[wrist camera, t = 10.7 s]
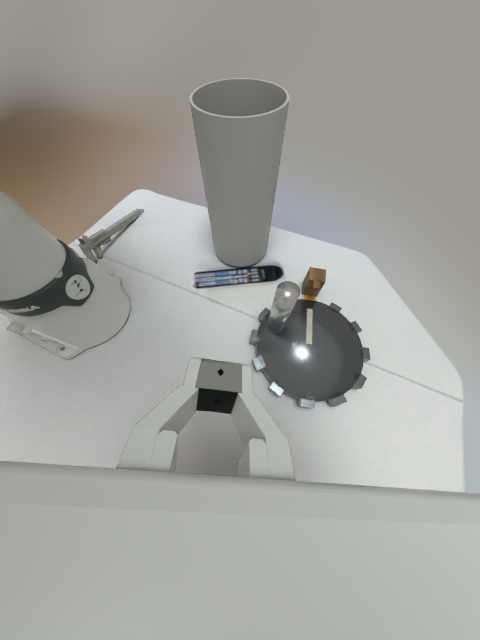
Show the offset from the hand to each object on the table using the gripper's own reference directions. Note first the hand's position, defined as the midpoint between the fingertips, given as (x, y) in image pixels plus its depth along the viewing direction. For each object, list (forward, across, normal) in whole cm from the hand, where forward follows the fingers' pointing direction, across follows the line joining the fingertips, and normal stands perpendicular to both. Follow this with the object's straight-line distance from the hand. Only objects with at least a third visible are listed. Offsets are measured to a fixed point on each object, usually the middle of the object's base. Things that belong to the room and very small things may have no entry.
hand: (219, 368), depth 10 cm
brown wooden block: (+31, -18, +8) cm, 36 cm away
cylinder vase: (+42, -2, +6) cm, 42 cm away
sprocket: (+19, -16, +15) cm, 29 cm away
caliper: (+46, +28, +10) cm, 55 cm away
